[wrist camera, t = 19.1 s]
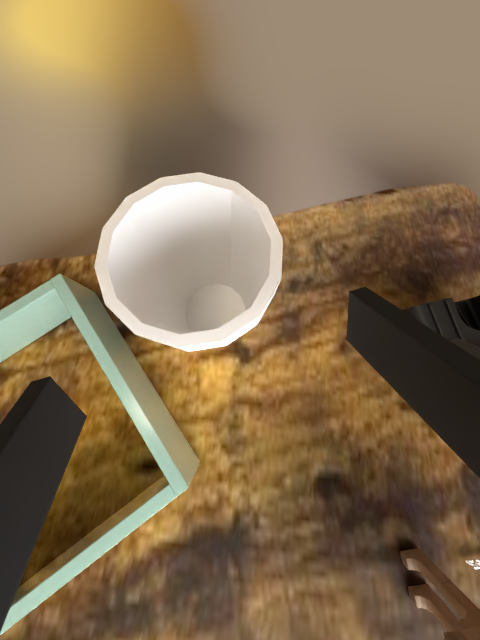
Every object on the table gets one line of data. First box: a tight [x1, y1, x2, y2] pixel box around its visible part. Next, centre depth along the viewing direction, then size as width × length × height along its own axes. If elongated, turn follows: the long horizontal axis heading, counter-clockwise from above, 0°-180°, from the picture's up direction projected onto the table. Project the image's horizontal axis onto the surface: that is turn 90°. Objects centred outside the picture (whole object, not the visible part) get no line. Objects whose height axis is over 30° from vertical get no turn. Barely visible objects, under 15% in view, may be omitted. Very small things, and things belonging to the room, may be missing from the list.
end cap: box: [402, 296, 480, 347], centre depth 21 cm, size 10×7×7 cm
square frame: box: [0, 274, 200, 635], centre depth 20 cm, size 20×20×5 cm
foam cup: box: [94, 172, 283, 352], centre depth 18 cm, size 10×9×13 cm
